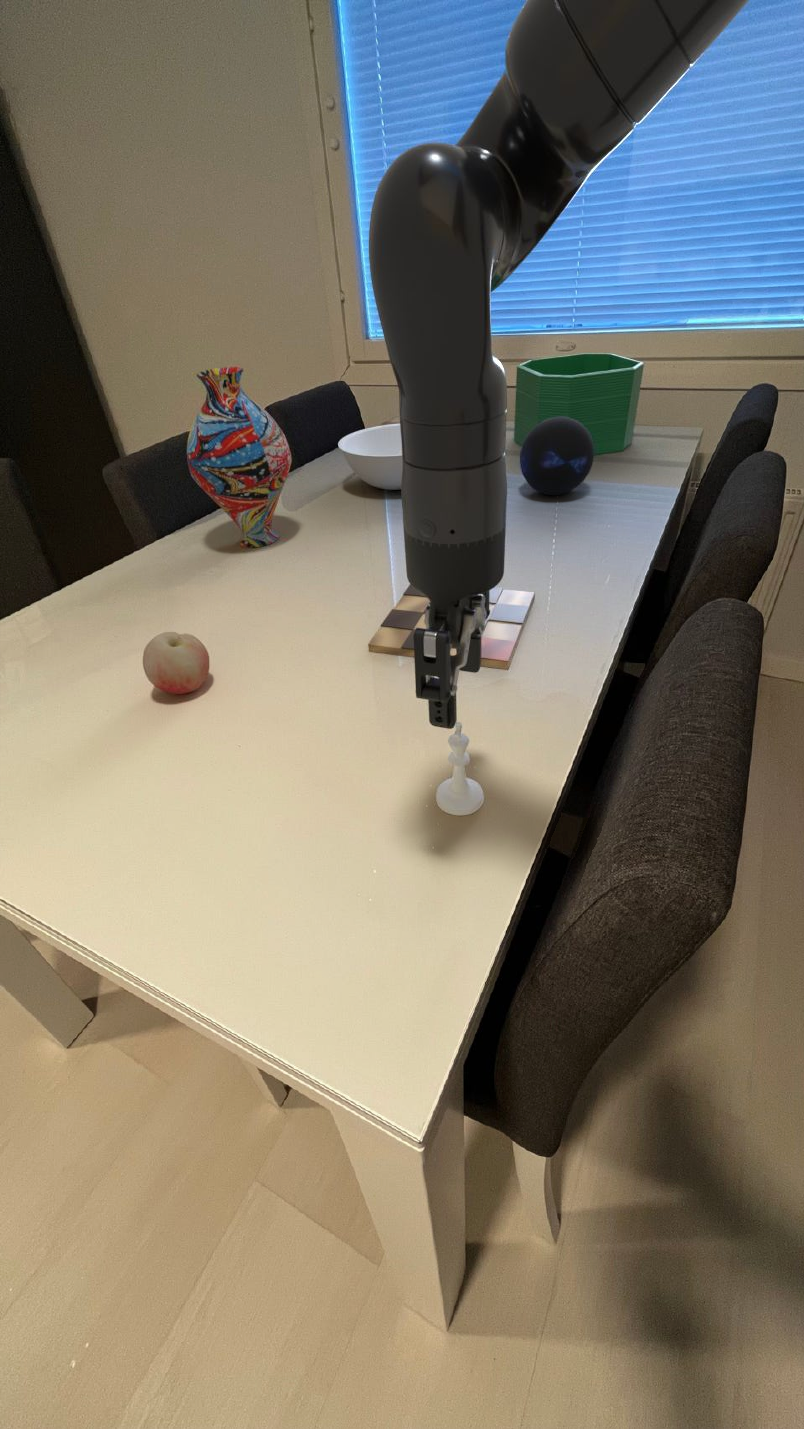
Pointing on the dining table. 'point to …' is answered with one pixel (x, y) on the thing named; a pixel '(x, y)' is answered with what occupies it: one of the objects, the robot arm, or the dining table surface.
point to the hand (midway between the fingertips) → (456, 695)
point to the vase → (238, 455)
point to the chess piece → (459, 780)
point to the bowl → (376, 455)
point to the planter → (581, 396)
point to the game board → (496, 639)
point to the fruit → (176, 662)
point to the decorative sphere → (557, 455)
